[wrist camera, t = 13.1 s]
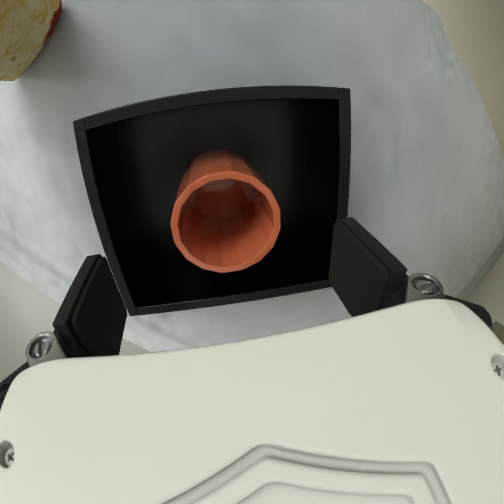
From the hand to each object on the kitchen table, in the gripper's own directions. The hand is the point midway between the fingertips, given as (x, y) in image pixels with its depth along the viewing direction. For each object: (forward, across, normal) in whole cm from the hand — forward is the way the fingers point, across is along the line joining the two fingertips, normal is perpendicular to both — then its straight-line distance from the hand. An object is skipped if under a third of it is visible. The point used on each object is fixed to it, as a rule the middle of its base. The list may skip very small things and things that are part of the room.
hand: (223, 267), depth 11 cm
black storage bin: (+13, -1, 0) cm, 13 cm away
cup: (+13, -1, +1) cm, 13 cm away
